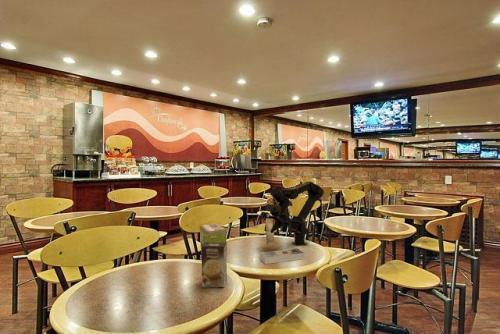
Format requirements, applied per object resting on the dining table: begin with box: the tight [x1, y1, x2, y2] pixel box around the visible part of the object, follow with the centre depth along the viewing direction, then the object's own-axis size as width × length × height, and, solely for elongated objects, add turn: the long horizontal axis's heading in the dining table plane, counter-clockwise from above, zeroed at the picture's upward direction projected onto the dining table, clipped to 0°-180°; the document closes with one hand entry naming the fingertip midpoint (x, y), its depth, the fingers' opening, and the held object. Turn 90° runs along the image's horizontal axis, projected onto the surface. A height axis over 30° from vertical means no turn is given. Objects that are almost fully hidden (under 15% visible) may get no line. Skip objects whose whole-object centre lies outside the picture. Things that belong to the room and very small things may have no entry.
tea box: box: [199, 223, 228, 254], centre depth 152 cm, size 15×10×15 cm, turn 25°
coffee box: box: [200, 242, 228, 288], centre depth 115 cm, size 9×6×16 cm
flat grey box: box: [259, 248, 306, 265], centre depth 143 cm, size 8×20×3 cm, turn 106°
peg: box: [265, 218, 275, 246], centre depth 152 cm, size 4×4×13 cm
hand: (268, 231), depth 151 cm, fingers closed on peg, 4 cm apart
